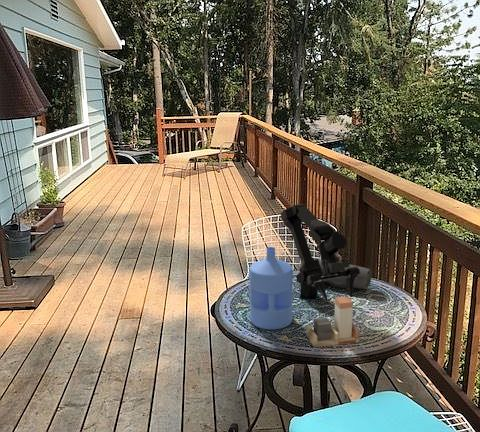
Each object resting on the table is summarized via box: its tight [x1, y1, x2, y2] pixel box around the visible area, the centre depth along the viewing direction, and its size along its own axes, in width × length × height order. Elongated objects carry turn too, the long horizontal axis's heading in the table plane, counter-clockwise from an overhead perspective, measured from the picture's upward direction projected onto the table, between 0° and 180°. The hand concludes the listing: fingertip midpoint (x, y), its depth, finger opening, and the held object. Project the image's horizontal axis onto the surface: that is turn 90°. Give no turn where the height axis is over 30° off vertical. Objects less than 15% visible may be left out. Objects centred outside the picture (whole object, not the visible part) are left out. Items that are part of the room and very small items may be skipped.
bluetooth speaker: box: [318, 259, 372, 290], centre depth 207 cm, size 23×9×10 cm, turn 58°
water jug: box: [248, 246, 294, 331], centre depth 177 cm, size 16×16×28 cm
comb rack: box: [306, 316, 360, 348], centre depth 166 cm, size 8×16×7 cm, turn 101°
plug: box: [333, 296, 354, 339], centre depth 166 cm, size 4×4×13 cm
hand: (339, 299), depth 175 cm, fingers open, 9 cm apart
